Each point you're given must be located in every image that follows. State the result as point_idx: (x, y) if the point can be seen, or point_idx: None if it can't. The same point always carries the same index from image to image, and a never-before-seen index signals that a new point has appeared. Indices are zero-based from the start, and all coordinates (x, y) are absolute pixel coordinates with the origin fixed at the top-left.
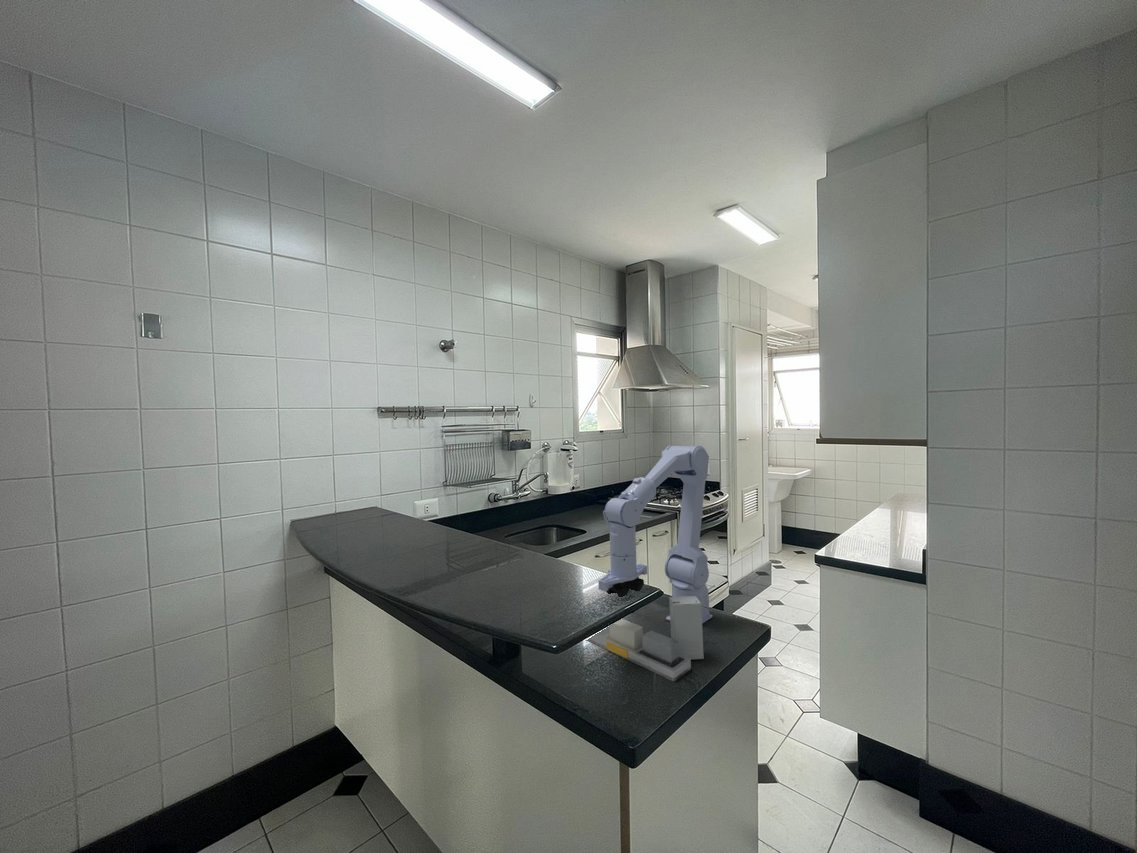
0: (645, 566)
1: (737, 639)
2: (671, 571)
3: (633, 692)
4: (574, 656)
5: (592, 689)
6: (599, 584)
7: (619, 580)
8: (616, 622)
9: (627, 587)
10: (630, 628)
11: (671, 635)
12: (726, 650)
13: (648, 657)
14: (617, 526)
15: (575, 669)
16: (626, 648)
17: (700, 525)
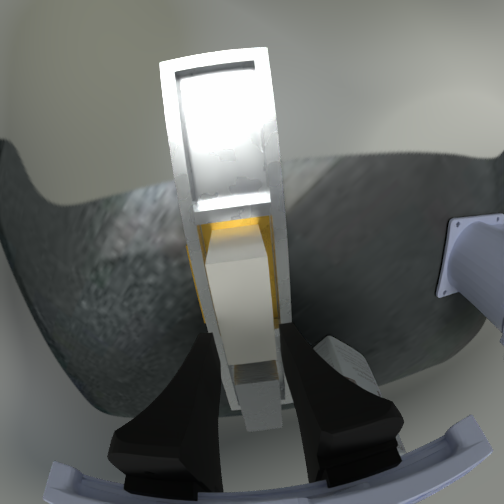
0: (452, 482)
1: (431, 355)
2: None
3: (146, 376)
4: (94, 205)
5: (83, 331)
6: (51, 485)
7: None
8: (225, 288)
9: (307, 429)
10: (234, 347)
11: (334, 365)
12: (388, 372)
13: (228, 367)
14: None
15: (74, 259)
16: (210, 315)
17: None
